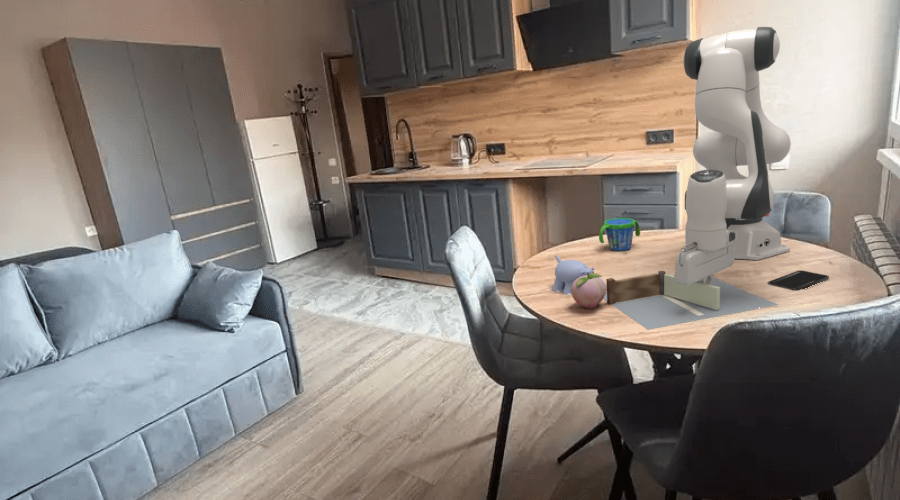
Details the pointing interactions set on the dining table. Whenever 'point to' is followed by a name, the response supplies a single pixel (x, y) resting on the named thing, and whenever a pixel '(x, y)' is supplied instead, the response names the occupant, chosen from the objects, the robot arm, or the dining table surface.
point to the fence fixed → (635, 287)
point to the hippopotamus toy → (569, 274)
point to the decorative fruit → (588, 290)
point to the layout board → (688, 307)
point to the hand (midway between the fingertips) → (704, 291)
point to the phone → (798, 280)
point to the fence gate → (693, 292)
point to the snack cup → (619, 233)
